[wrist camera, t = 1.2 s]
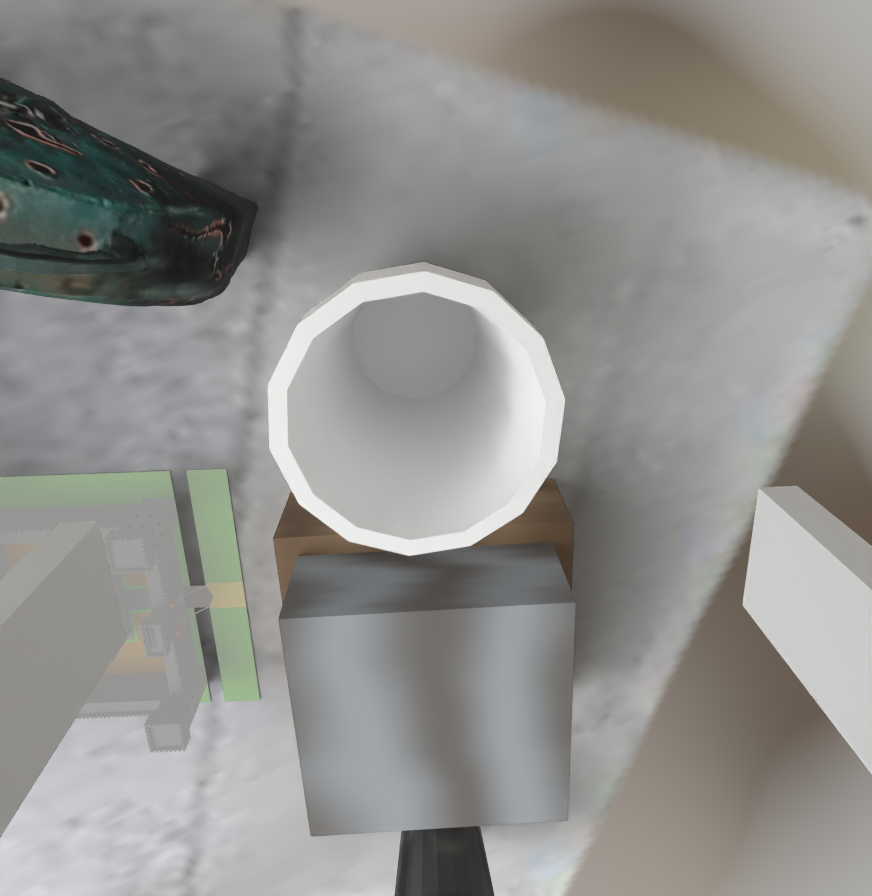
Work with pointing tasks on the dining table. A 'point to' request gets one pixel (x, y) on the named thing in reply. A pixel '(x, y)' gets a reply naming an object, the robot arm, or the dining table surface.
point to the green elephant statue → (107, 215)
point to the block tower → (431, 674)
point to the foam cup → (415, 410)
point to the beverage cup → (443, 863)
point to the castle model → (149, 587)
